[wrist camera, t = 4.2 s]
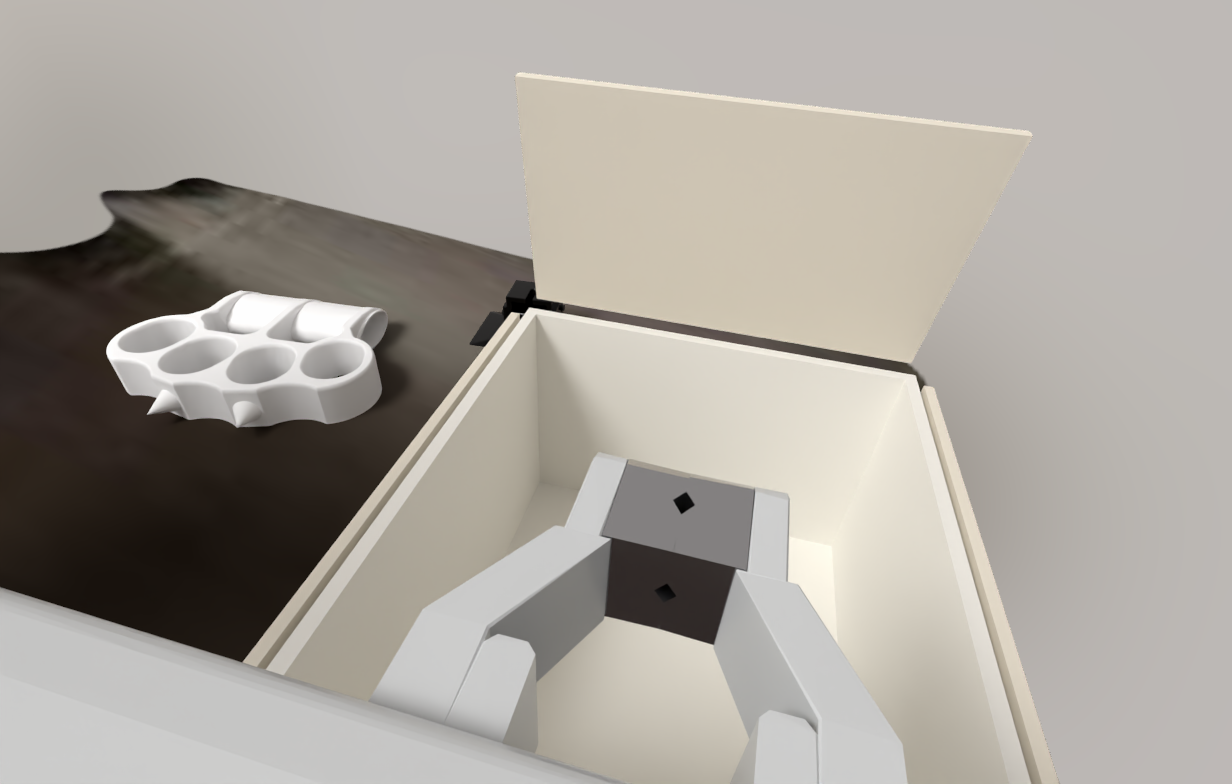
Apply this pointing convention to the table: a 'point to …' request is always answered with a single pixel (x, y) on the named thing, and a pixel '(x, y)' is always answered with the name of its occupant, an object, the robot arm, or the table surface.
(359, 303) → the table surface
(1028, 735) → the carton
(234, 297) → the spiked knuckle duster
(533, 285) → the black angular piece
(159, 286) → the table surface
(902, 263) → the carton flap
